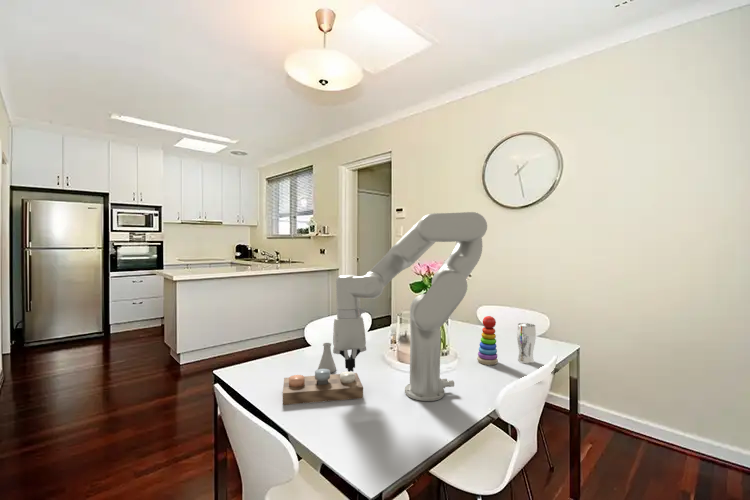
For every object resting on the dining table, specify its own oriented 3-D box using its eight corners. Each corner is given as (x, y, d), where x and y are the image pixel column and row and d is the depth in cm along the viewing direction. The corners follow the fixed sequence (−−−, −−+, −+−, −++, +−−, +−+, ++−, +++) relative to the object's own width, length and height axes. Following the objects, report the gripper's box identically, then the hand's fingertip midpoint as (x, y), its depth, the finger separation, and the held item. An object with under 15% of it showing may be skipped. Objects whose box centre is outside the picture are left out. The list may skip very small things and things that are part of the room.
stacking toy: (477, 364, 142) (478, 317, 141) (476, 358, 150) (477, 313, 149) (498, 366, 140) (499, 318, 140) (496, 359, 148) (497, 314, 147)
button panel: (356, 382, 123) (356, 372, 123) (362, 398, 111) (363, 387, 111) (284, 388, 118) (284, 377, 118) (282, 405, 106) (282, 393, 106)
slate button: (329, 384, 117) (329, 368, 117) (330, 391, 112) (330, 373, 112) (314, 386, 116) (314, 369, 116) (315, 392, 111) (315, 374, 111)
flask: (333, 374, 130) (333, 347, 130) (314, 372, 132) (314, 345, 131) (339, 367, 137) (339, 341, 137) (320, 366, 139) (321, 340, 138)
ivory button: (353, 387, 119) (353, 371, 119) (355, 393, 114) (356, 376, 114) (339, 388, 118) (339, 372, 118) (340, 394, 113) (341, 377, 113)
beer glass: (516, 362, 144) (517, 325, 144) (516, 357, 151) (517, 322, 150) (535, 365, 142) (536, 327, 141) (534, 359, 148) (535, 323, 148)
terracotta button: (304, 391, 116) (304, 374, 115) (304, 397, 111) (304, 380, 111) (288, 392, 115) (289, 375, 114) (288, 399, 110) (288, 381, 110)
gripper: (369, 309, 120) (370, 364, 121) (324, 312, 117) (326, 368, 118) (374, 314, 113) (375, 372, 114) (326, 317, 110) (327, 376, 111)
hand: (350, 370), depth 116 cm, fingers closed
